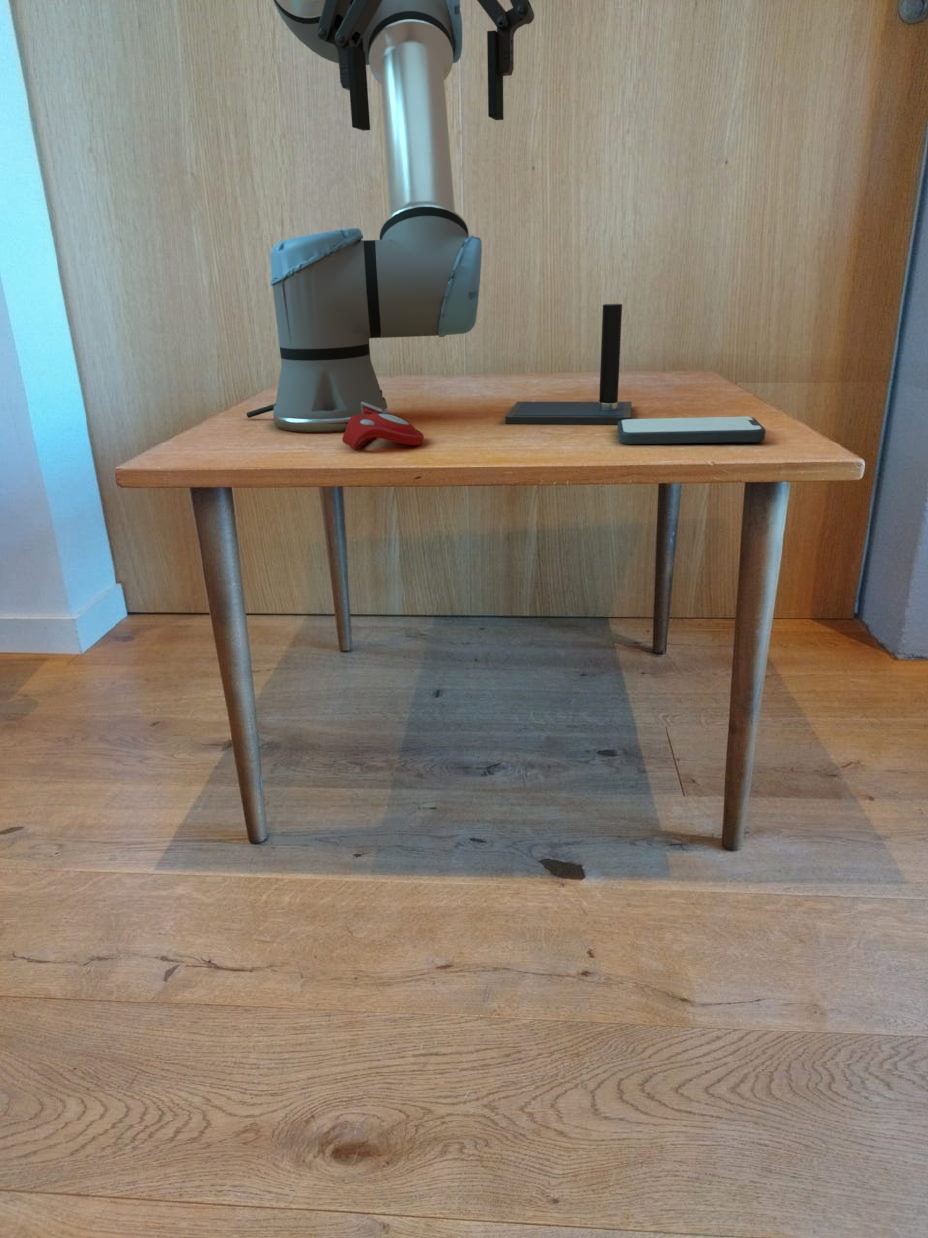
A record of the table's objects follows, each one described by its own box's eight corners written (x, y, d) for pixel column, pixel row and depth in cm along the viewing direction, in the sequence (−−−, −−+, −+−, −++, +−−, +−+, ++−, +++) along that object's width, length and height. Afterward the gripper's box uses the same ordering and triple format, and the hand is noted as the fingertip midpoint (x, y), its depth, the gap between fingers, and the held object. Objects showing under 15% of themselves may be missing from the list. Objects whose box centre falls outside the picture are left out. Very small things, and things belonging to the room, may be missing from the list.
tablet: (505, 423, 106) (505, 416, 106) (517, 407, 117) (517, 400, 116) (630, 424, 103) (631, 416, 103) (631, 408, 114) (631, 401, 113)
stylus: (596, 410, 108) (600, 304, 102) (601, 407, 110) (606, 303, 104) (614, 411, 107) (619, 304, 101) (619, 408, 109) (624, 303, 103)
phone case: (619, 447, 92) (766, 444, 90) (619, 433, 92) (768, 430, 90) (616, 432, 100) (752, 429, 98) (617, 418, 100) (753, 415, 98)
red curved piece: (443, 431, 97) (382, 424, 89) (432, 467, 98) (372, 463, 90) (376, 398, 103) (314, 389, 95) (367, 432, 105) (305, 425, 97)
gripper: (262, -162, 70) (291, 127, 78) (551, -217, 63) (548, 107, 71) (302, -127, 76) (325, 136, 85) (568, -173, 69) (563, 118, 78)
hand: (427, 123), depth 78 cm, fingers open, 13 cm apart
